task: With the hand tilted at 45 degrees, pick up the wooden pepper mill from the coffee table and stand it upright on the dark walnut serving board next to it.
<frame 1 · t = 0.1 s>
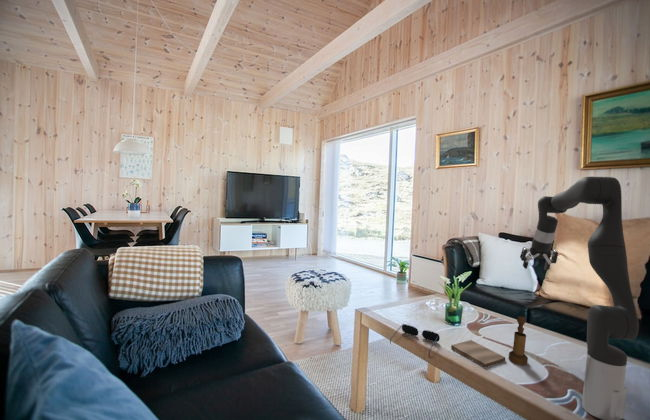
hand: (535, 268, 155), 31 cm above the table, tool tilted 20°, fingers open, 8 cm apart
serving board: (477, 354, 135), on the table
sunglasses: (414, 344, 143), on the table
wooden pepper mill: (517, 361, 132), on the table
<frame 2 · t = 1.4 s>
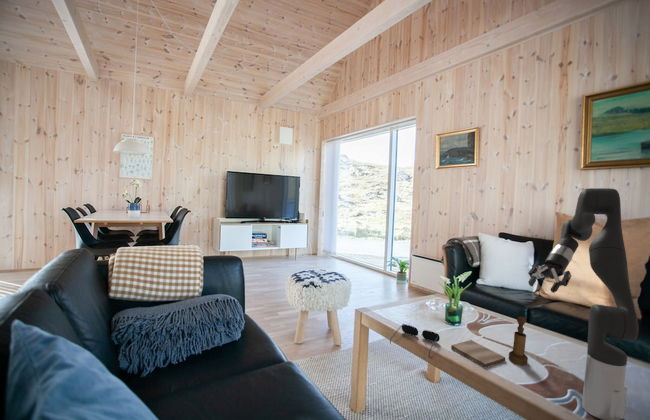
hand: (541, 288, 135), 28 cm above the table, tool tilted 45°, fingers open, 8 cm apart
nothing on the table moved.
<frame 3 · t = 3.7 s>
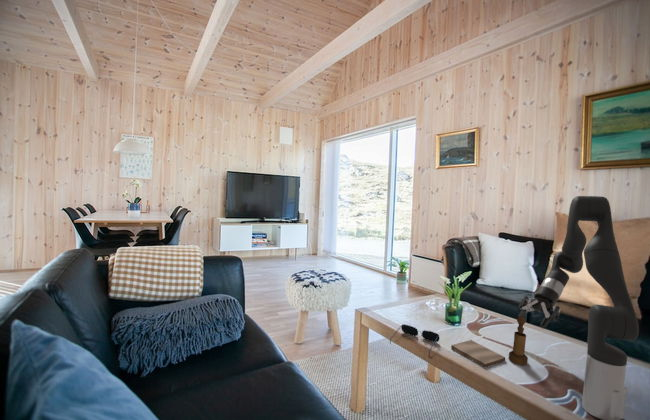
hand: (530, 322, 134), 15 cm above the table, tool tilted 45°, fingers open, 8 cm apart
nothing on the table moved.
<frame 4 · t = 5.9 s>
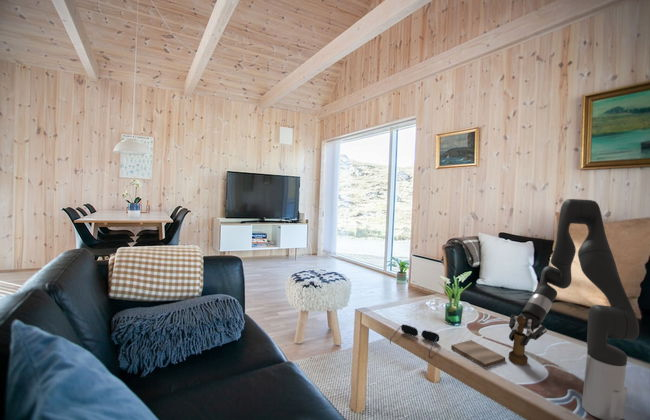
hand: (516, 342, 130), 8 cm above the table, tool tilted 45°, fingers closed on wooden pepper mill, 4 cm apart
wooden pepper mill: (517, 361, 132), on the table, touching gripper
everything else where it was.
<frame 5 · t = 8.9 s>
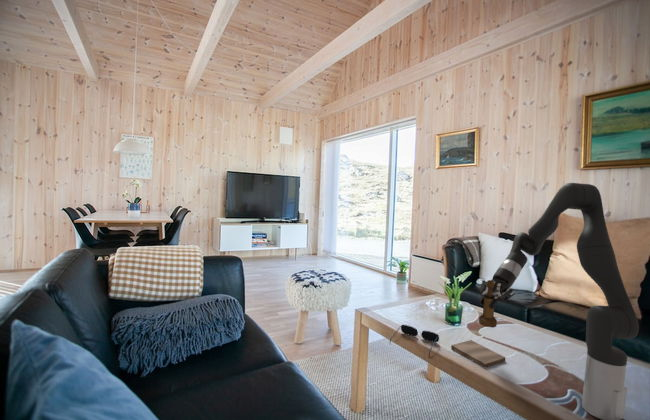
hand: (485, 305, 133), 21 cm above the table, tool tilted 45°, fingers closed on wooden pepper mill, 4 cm apart
wooden pepper mill: (487, 324, 134), point 13 cm above the table, touching gripper
everything else where it was.
when the fingers open (11 cm above the table, at t = 11.4 s): wooden pepper mill drops 1 cm, resting on serving board.
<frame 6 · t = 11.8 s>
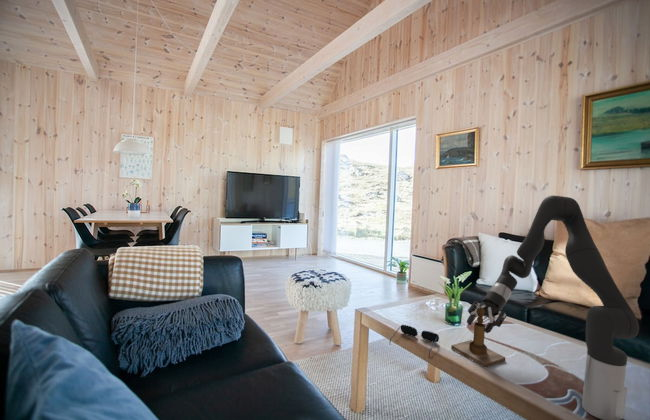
hand: (477, 327, 134), 12 cm above the table, tool tilted 45°, fingers open, 7 cm apart
wooden pepper mill: (477, 351, 136), point 1 cm above the table, touching serving board
everything else where it was.
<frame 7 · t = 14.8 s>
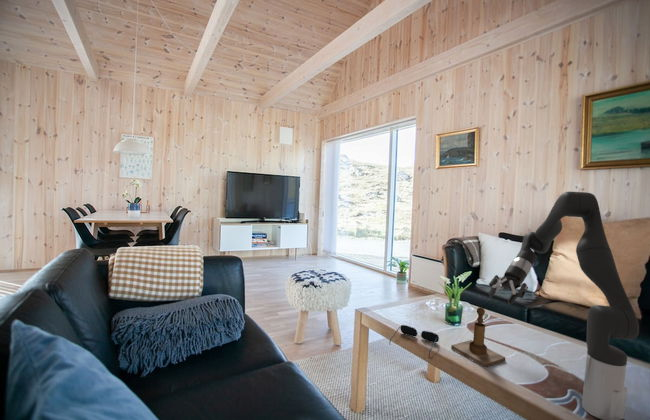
hand: (499, 299, 139), 22 cm above the table, tool tilted 45°, fingers open, 8 cm apart
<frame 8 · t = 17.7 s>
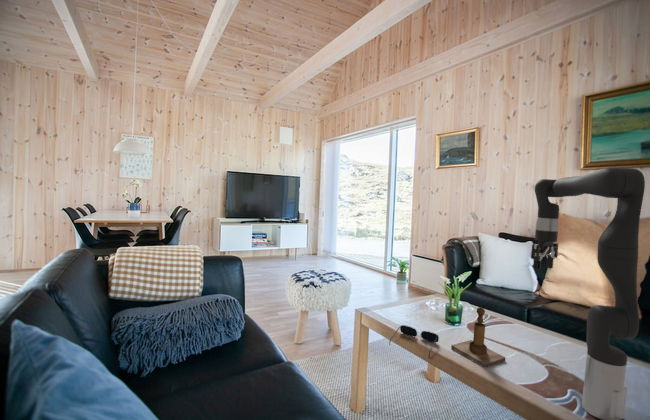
hand: (543, 268, 135), 36 cm above the table, tool pointing down, fingers open, 8 cm apart
at the end: wooden pepper mill inside the target area on the serving board (0.2 cm from its centre), point 1.3 cm above the serving board's base; wooden pepper mill tilted 0°; the gripper is holding nothing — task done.
